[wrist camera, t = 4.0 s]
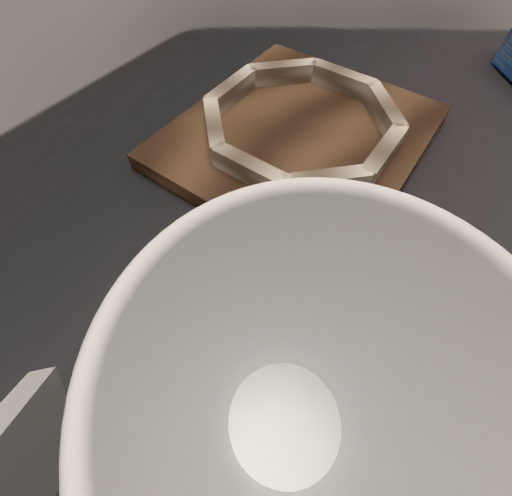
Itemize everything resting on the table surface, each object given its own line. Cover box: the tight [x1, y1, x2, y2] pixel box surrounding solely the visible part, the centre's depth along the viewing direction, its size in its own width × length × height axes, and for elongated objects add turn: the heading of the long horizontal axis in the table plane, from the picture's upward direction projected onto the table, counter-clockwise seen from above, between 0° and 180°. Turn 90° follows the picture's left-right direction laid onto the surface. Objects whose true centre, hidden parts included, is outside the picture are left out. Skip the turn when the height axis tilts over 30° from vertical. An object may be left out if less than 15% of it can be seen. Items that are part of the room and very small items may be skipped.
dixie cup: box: [59, 177, 512, 496], centre depth 9 cm, size 8×8×11 cm
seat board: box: [127, 44, 452, 207], centre depth 23 cm, size 16×18×3 cm
